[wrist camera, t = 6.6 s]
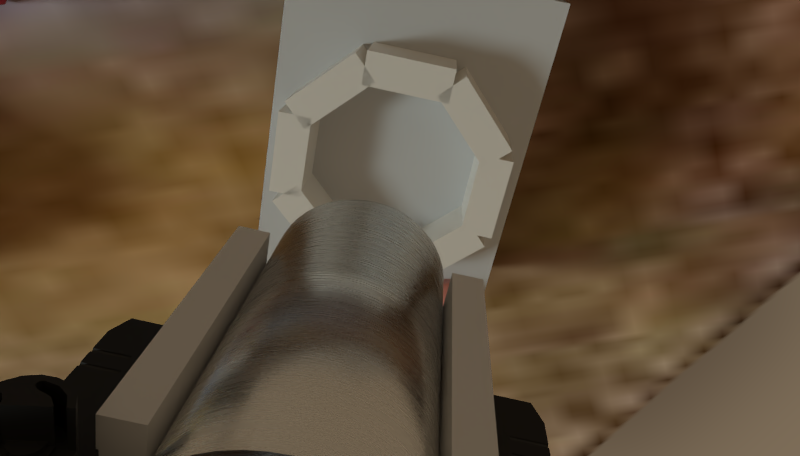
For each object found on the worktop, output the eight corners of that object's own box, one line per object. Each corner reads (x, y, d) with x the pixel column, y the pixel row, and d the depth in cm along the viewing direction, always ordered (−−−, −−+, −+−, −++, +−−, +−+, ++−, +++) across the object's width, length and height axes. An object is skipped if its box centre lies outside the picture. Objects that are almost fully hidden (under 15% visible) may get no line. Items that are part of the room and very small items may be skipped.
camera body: (323, -57, 27) (276, -59, 20) (547, -8, 27) (581, 9, 20) (285, 227, 33) (238, 307, 26) (469, 267, 33) (474, 357, 26)
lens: (279, 174, 15) (25, 509, 6) (469, 216, 15) (494, 608, 6) (258, 333, 17) (44, 762, 8) (427, 370, 17) (399, 835, 8)
